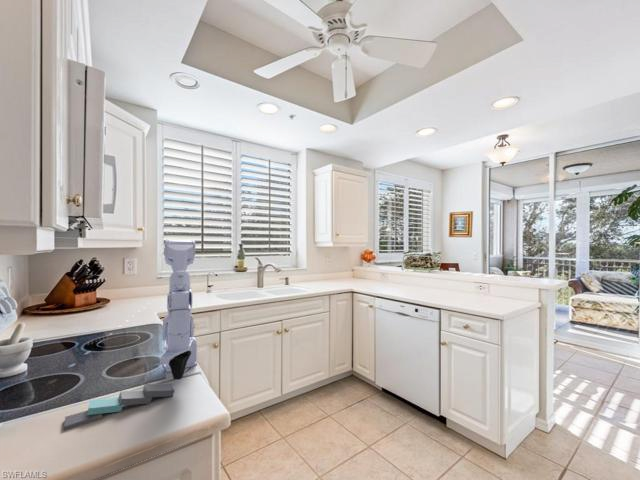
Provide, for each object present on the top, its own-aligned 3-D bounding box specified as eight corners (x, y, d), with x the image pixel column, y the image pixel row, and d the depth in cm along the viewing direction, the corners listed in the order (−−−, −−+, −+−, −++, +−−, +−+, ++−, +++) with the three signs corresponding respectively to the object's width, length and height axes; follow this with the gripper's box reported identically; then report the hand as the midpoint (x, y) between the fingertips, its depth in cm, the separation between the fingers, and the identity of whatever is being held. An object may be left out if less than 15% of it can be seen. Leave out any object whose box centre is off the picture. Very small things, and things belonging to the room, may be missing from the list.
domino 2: (122, 396, 77) (90, 399, 73) (122, 404, 73) (88, 408, 69) (121, 403, 77) (88, 406, 73) (121, 411, 73) (86, 415, 69)
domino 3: (149, 390, 81) (120, 391, 76) (152, 397, 77) (122, 399, 73) (147, 396, 80) (118, 397, 76) (150, 403, 77) (120, 405, 73)
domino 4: (171, 383, 84) (144, 384, 80) (174, 390, 81) (147, 391, 77) (169, 389, 84) (142, 390, 80) (172, 396, 81) (145, 397, 76)
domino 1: (101, 406, 74) (65, 416, 69) (102, 415, 70) (64, 426, 66) (101, 412, 74) (65, 423, 69) (102, 421, 70) (64, 433, 66)
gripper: (179, 323, 91) (178, 365, 91) (149, 340, 76) (148, 390, 76) (201, 324, 90) (200, 367, 90) (175, 341, 76) (174, 392, 76)
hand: (178, 378), depth 83 cm, fingers closed
